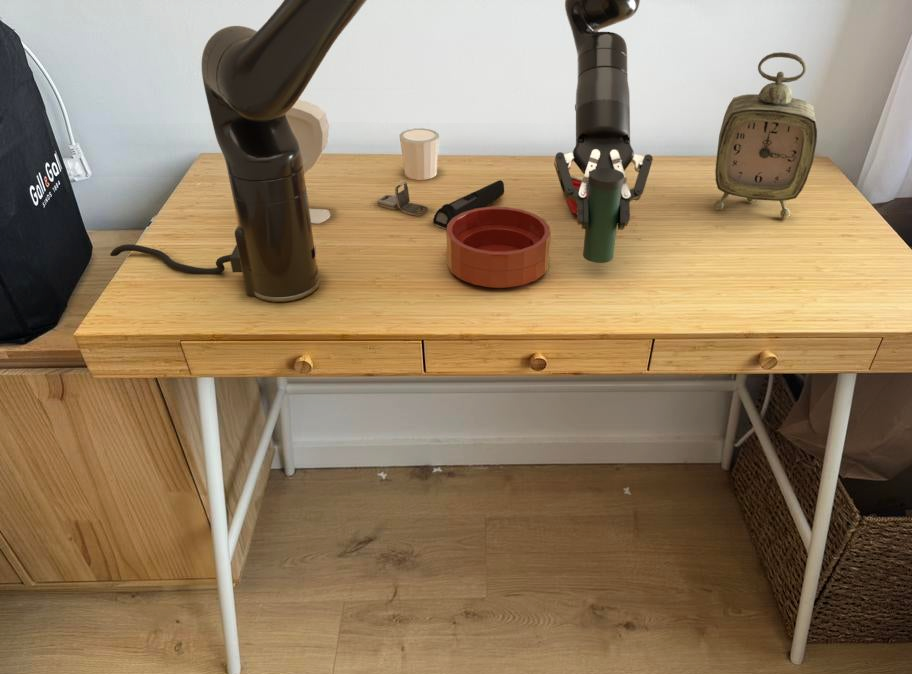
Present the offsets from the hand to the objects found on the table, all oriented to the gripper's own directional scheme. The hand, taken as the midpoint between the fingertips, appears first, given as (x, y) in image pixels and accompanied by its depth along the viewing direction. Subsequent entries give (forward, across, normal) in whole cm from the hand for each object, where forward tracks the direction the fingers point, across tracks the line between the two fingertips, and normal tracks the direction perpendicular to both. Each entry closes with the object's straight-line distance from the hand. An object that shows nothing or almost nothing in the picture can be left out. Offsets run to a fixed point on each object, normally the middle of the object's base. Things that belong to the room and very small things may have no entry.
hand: (603, 227), depth 112 cm
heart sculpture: (-8, -48, +19) cm, 52 cm away
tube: (+2, 0, +5) cm, 6 cm away
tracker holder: (-11, +1, +23) cm, 25 cm away
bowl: (+4, -14, +8) cm, 17 cm away
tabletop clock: (-11, +28, +23) cm, 38 cm away
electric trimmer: (-9, -19, +21) cm, 29 cm away
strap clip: (-10, -30, +21) cm, 38 cm away
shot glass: (-20, -28, +31) cm, 46 cm away
